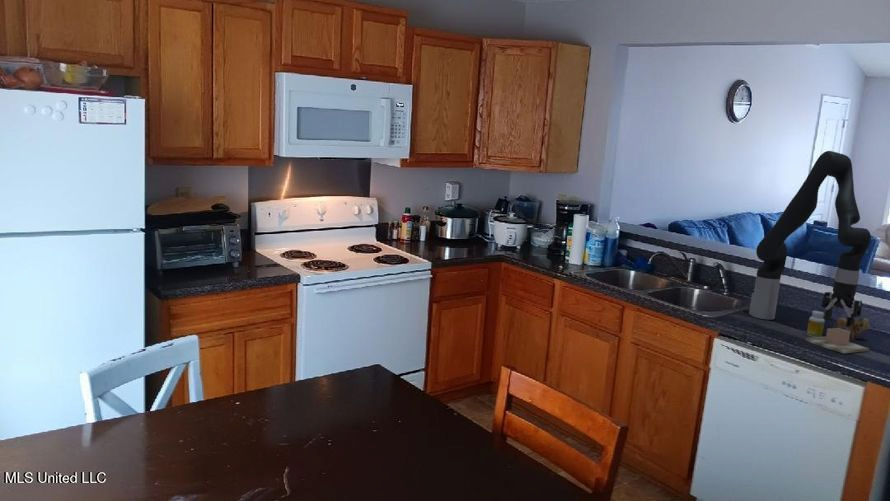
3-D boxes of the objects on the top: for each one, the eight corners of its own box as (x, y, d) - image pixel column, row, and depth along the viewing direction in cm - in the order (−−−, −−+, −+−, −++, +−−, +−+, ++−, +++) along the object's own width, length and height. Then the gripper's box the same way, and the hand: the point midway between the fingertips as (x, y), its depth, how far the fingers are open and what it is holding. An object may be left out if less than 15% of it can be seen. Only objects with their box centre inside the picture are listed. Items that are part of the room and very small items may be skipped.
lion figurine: (869, 341, 277) (873, 319, 275) (862, 343, 274) (867, 320, 272) (831, 330, 289) (835, 308, 287) (824, 331, 286) (828, 310, 284)
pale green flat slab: (804, 340, 271) (805, 337, 270) (830, 338, 276) (830, 335, 276) (843, 353, 256) (843, 350, 256) (868, 351, 262) (869, 348, 262)
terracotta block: (825, 341, 267) (827, 328, 266) (836, 340, 270) (838, 327, 269) (837, 345, 263) (839, 332, 262) (848, 344, 265) (850, 331, 264)
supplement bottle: (815, 338, 275) (820, 314, 273) (803, 334, 279) (807, 310, 278) (824, 337, 277) (829, 313, 275) (812, 333, 282) (816, 309, 280)
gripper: (822, 276, 267) (814, 318, 270) (856, 285, 254) (848, 329, 257) (835, 276, 270) (828, 317, 273) (871, 285, 257) (862, 328, 260)
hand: (838, 323), depth 265 cm, fingers open, 8 cm apart
